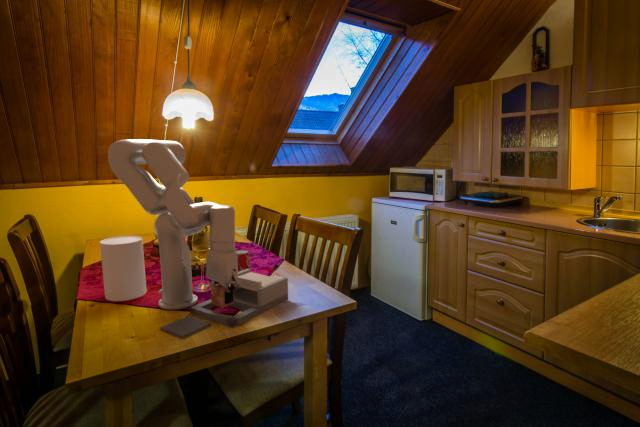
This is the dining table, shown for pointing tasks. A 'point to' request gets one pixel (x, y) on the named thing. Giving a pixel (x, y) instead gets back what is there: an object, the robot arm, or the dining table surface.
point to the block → (219, 295)
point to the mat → (185, 326)
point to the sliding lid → (255, 280)
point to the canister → (123, 267)
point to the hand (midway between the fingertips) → (222, 300)
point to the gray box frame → (246, 302)
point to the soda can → (243, 260)
